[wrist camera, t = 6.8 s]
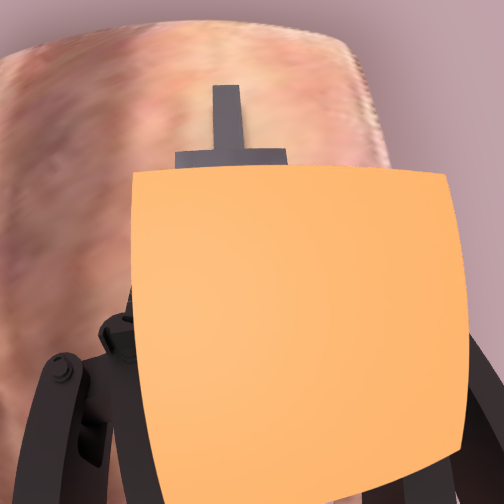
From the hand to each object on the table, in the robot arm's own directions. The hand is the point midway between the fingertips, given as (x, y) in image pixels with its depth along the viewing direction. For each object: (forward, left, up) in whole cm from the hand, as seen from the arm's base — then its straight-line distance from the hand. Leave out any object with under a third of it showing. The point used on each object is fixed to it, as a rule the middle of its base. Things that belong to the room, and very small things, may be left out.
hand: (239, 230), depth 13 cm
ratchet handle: (-1, +1, -4) cm, 5 cm away
